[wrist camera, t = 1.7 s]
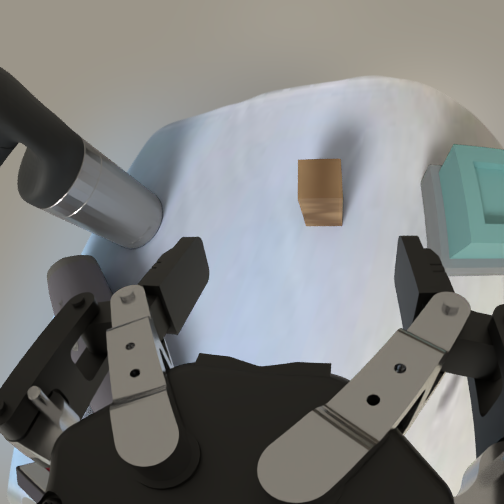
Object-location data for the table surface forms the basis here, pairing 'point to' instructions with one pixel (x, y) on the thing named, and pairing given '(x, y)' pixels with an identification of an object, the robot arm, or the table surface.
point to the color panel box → (33, 479)
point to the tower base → (466, 210)
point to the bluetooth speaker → (69, 285)
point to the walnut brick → (320, 191)
